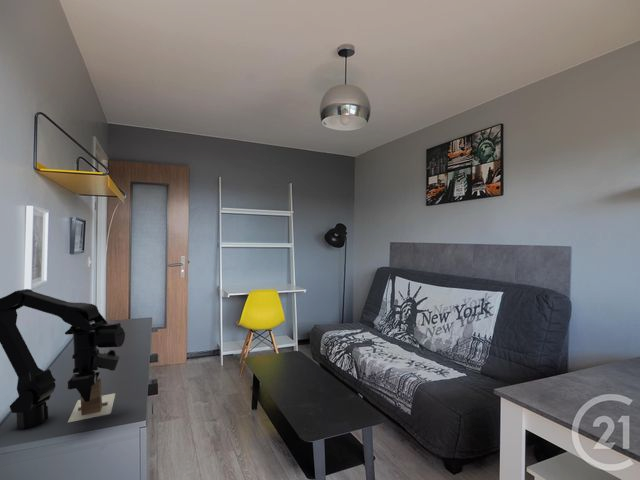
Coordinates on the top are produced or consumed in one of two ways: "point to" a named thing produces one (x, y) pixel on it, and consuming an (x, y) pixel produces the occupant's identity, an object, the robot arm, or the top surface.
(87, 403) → the walnut block
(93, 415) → the mat
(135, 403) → the top surface
